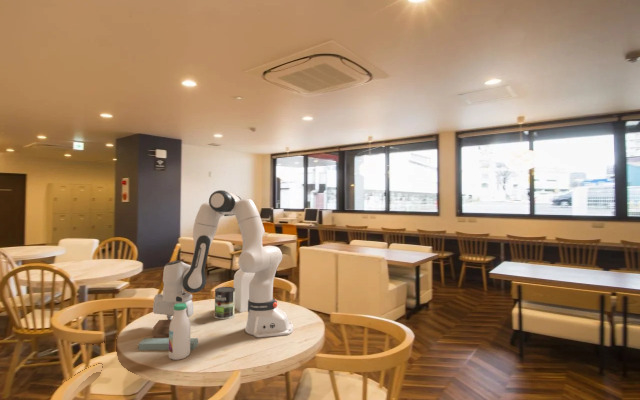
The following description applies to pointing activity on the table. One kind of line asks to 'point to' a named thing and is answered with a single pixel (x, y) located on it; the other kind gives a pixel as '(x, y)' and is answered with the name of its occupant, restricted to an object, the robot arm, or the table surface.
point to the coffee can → (224, 302)
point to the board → (162, 344)
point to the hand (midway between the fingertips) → (172, 324)
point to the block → (161, 329)
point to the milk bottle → (179, 333)
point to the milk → (242, 289)
